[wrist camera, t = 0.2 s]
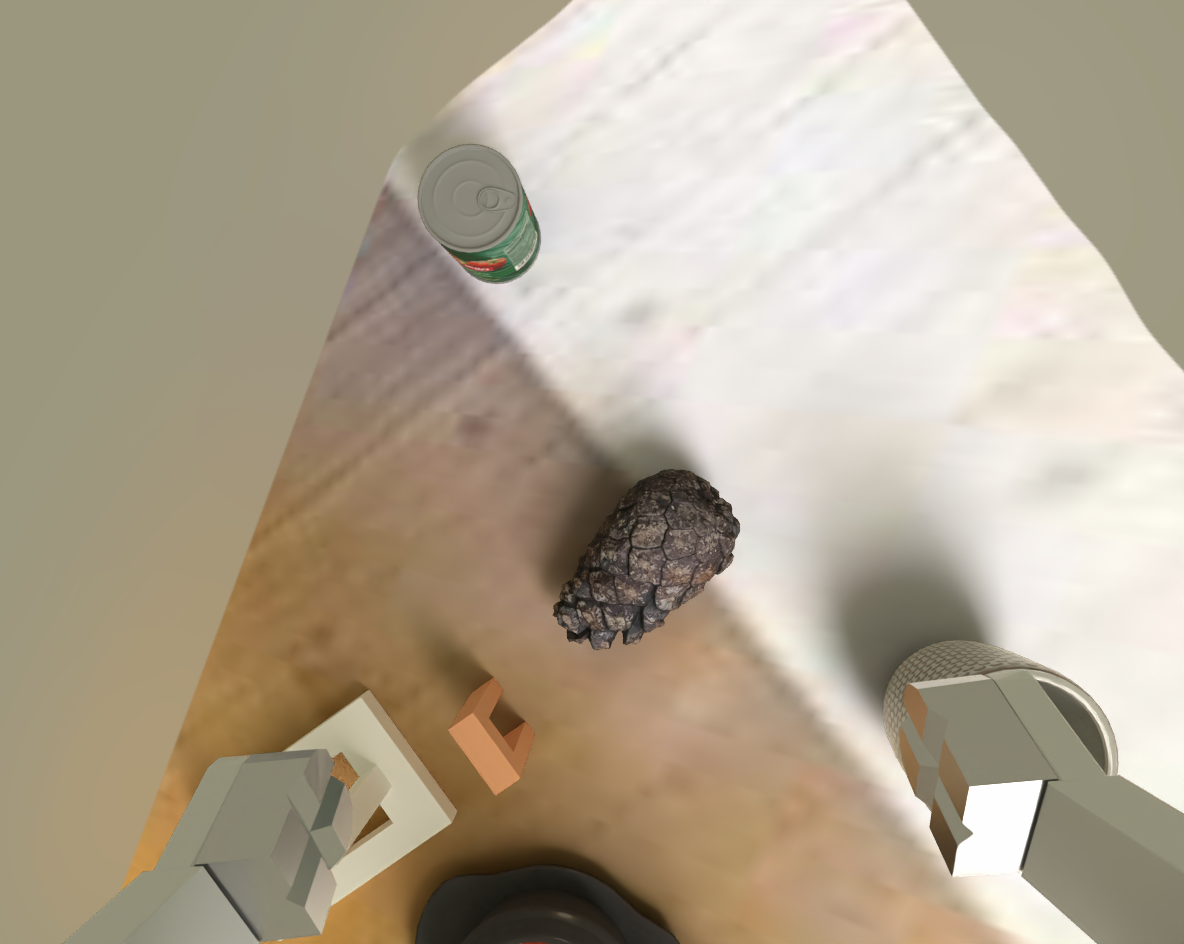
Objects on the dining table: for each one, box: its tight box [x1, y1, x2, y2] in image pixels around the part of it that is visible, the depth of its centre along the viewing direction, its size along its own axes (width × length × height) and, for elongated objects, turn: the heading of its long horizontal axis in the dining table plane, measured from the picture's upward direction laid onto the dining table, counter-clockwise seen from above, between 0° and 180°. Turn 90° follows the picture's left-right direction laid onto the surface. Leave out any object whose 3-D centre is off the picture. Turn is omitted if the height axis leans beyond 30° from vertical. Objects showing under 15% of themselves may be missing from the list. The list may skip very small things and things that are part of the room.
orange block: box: [448, 677, 535, 796], centre depth 61 cm, size 6×2×8 cm, turn 36°
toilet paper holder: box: [279, 690, 457, 942], centre depth 60 cm, size 20×14×14 cm
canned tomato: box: [418, 144, 541, 284], centre depth 58 cm, size 8×8×11 cm
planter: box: [883, 640, 1118, 812], centre depth 56 cm, size 14×14×13 cm
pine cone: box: [553, 469, 740, 650], centre depth 59 cm, size 10×18×10 cm, turn 144°
